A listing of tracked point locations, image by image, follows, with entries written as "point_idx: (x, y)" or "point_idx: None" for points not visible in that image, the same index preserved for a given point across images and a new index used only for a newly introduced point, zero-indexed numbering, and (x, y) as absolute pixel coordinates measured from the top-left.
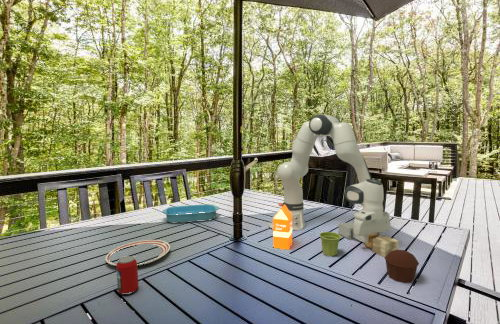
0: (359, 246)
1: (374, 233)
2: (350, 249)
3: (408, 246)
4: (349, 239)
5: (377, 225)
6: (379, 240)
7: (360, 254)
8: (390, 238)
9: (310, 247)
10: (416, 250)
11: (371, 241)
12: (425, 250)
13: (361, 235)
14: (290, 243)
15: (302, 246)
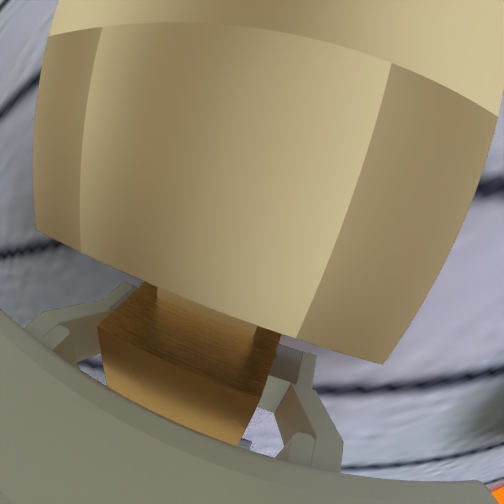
0: (316, 374)
1: (109, 385)
2: (432, 389)
3: (13, 101)
4: (245, 441)
5: (9, 489)
6: (428, 184)
7: (499, 293)
8: (62, 82)
9: (487, 473)
10: (32, 26)
11: (279, 338)
12: (12, 14)
13: (468, 485)
14: (499, 499)
15: (486, 483)
